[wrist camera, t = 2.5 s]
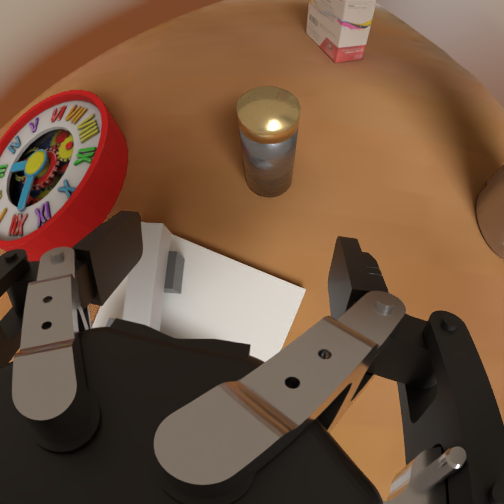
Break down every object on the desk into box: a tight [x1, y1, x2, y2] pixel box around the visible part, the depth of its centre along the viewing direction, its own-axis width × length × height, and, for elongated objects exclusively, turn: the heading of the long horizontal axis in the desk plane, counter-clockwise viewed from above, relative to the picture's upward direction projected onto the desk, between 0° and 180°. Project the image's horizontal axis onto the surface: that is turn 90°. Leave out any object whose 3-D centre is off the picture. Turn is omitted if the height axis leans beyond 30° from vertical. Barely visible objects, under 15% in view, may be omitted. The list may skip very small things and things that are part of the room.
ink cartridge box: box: [306, 0, 377, 63], centre depth 28 cm, size 9×5×15 cm, turn 21°
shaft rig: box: [92, 222, 306, 362], centre depth 21 cm, size 27×16×6 cm, turn 156°
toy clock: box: [0, 90, 128, 261], centre depth 28 cm, size 20×6×20 cm
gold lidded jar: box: [237, 86, 300, 197], centre depth 25 cm, size 4×4×10 cm
